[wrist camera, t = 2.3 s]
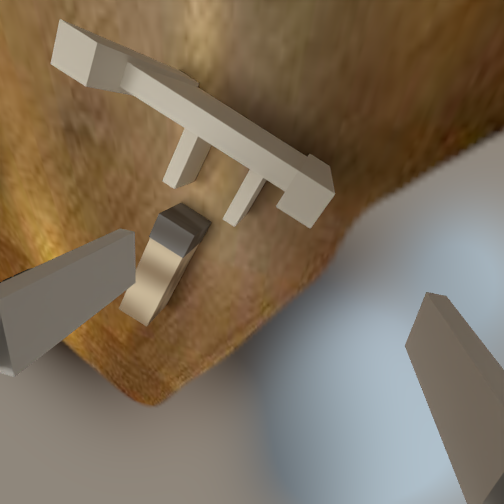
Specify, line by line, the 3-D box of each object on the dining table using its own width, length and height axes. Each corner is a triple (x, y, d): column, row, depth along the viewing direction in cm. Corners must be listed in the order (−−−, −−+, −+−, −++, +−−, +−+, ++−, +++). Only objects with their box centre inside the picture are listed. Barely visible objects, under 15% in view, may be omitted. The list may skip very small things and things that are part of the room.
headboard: (147, 151, 34) (29, 165, 20) (179, 70, 30) (59, 18, 16) (282, 236, 34) (254, 306, 20) (329, 166, 30) (335, 193, 17)
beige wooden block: (166, 305, 41) (146, 327, 37) (140, 289, 41) (117, 309, 36) (211, 221, 35) (194, 235, 31) (181, 202, 35) (159, 213, 31)
